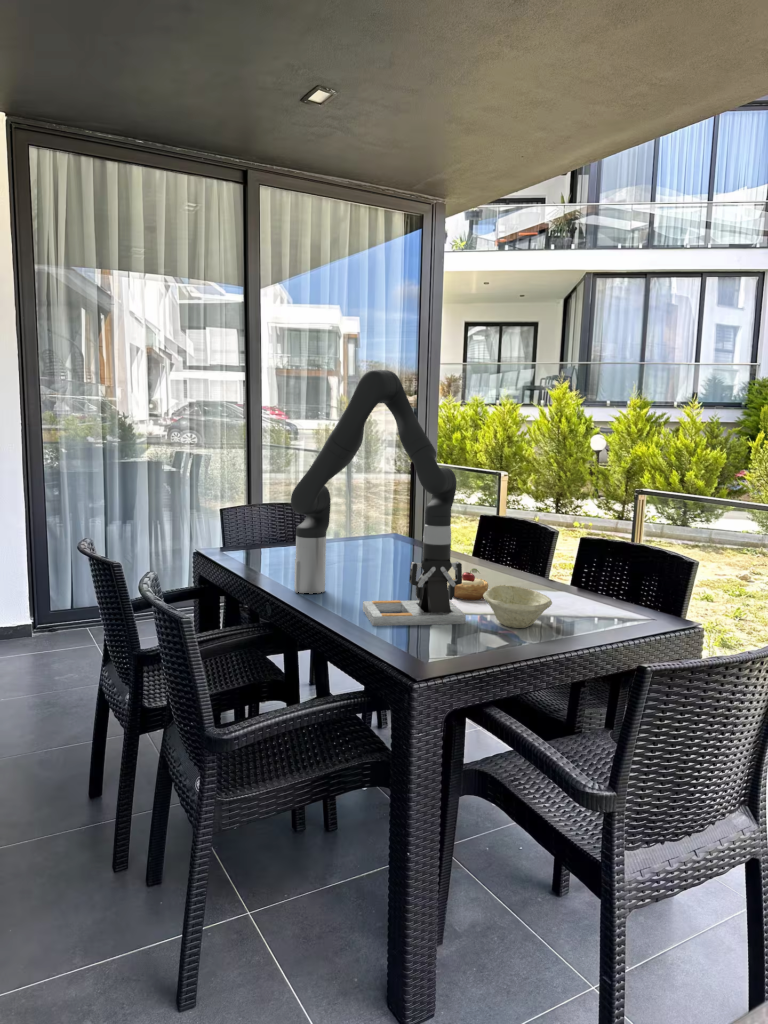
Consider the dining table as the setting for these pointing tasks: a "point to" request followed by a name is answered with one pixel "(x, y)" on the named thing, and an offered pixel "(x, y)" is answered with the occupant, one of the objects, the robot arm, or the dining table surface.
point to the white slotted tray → (409, 614)
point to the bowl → (516, 605)
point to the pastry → (470, 587)
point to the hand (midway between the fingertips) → (435, 599)
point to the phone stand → (435, 595)
